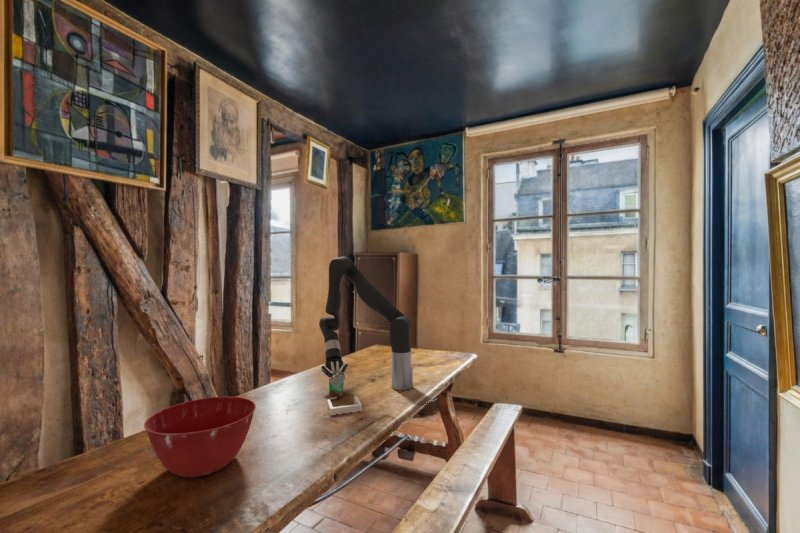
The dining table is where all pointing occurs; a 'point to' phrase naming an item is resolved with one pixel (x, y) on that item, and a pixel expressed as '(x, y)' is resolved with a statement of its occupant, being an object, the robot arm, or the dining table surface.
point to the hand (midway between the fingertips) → (336, 384)
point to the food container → (336, 385)
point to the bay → (345, 407)
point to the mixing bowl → (200, 434)
